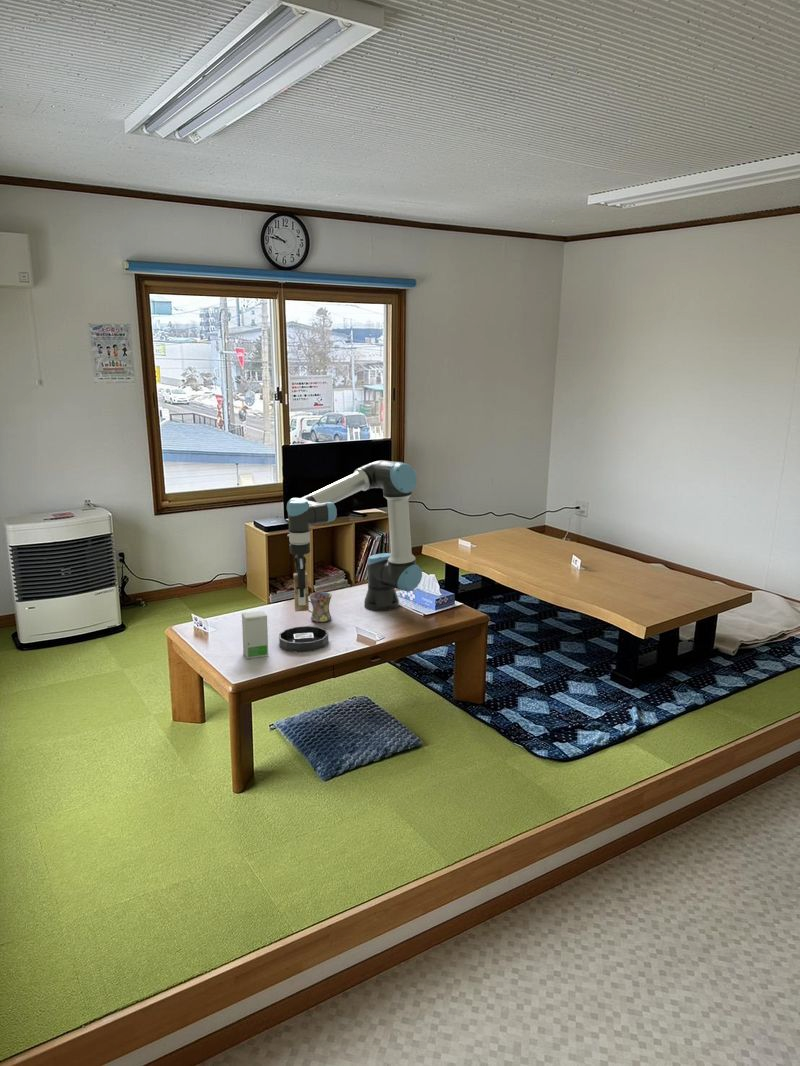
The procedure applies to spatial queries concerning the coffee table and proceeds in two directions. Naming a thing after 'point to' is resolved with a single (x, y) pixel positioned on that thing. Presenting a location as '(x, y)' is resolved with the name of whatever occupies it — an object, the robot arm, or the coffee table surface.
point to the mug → (320, 606)
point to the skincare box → (255, 634)
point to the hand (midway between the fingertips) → (301, 603)
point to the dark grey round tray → (318, 643)
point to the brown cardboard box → (297, 607)
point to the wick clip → (303, 637)
